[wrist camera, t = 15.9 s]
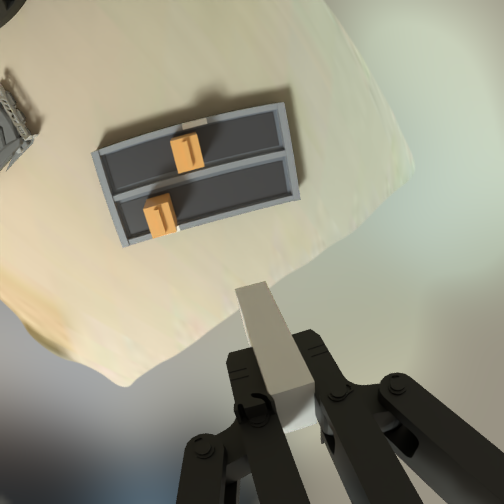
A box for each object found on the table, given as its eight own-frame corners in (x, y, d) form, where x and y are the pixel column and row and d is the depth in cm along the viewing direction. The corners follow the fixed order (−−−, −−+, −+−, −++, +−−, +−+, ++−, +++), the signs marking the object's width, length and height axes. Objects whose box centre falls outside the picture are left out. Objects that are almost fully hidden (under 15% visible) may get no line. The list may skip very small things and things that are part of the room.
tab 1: (146, 199, 42) (142, 210, 37) (169, 192, 42) (167, 203, 37) (155, 226, 43) (152, 240, 39) (177, 219, 44) (176, 233, 39)
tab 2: (171, 138, 39) (169, 142, 34) (195, 131, 39) (197, 134, 35) (178, 167, 41) (178, 174, 36) (202, 160, 41) (205, 167, 37)
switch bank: (96, 149, 39) (90, 152, 37) (277, 102, 42) (284, 102, 39) (125, 239, 46) (122, 247, 43) (293, 194, 48) (300, 199, 46)
